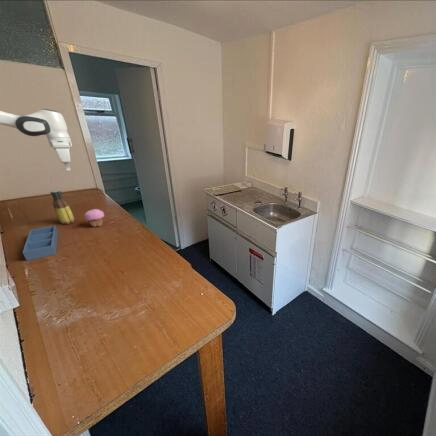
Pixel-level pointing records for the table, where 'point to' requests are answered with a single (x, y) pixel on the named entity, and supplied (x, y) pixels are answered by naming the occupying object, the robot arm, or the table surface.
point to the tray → (41, 243)
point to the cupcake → (94, 217)
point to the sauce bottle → (62, 208)
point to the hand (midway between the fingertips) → (68, 169)
